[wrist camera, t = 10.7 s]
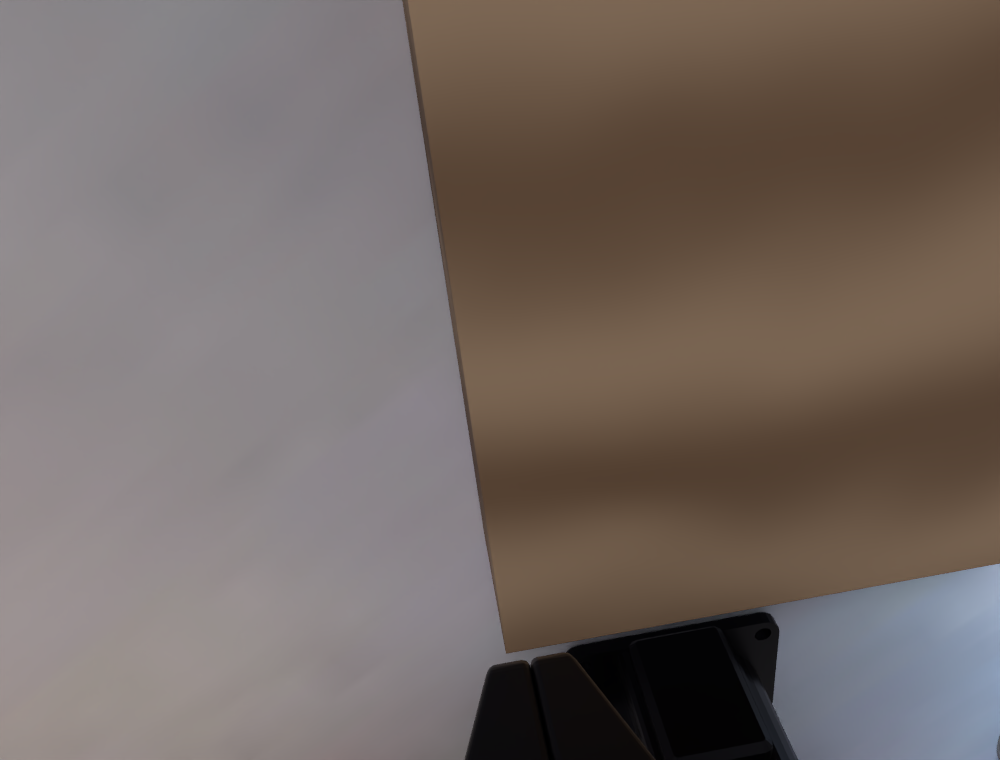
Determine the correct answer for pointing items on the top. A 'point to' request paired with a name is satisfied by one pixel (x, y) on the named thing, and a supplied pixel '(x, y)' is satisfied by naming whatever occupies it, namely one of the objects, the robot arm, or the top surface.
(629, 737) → the robot arm
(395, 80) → the top surface
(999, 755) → the lumpy-topped squat cylinder
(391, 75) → the top surface
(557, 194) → the flat brown block
